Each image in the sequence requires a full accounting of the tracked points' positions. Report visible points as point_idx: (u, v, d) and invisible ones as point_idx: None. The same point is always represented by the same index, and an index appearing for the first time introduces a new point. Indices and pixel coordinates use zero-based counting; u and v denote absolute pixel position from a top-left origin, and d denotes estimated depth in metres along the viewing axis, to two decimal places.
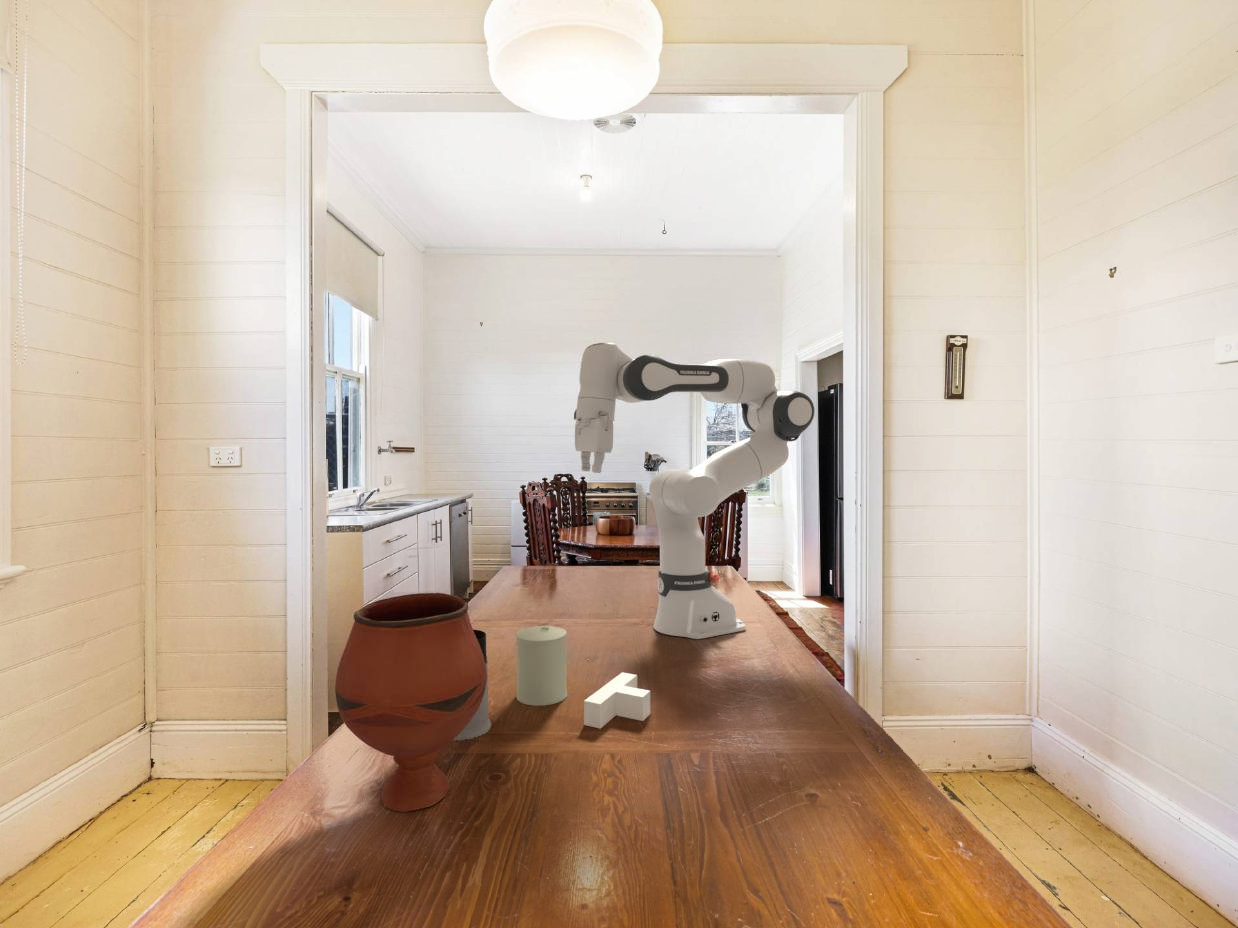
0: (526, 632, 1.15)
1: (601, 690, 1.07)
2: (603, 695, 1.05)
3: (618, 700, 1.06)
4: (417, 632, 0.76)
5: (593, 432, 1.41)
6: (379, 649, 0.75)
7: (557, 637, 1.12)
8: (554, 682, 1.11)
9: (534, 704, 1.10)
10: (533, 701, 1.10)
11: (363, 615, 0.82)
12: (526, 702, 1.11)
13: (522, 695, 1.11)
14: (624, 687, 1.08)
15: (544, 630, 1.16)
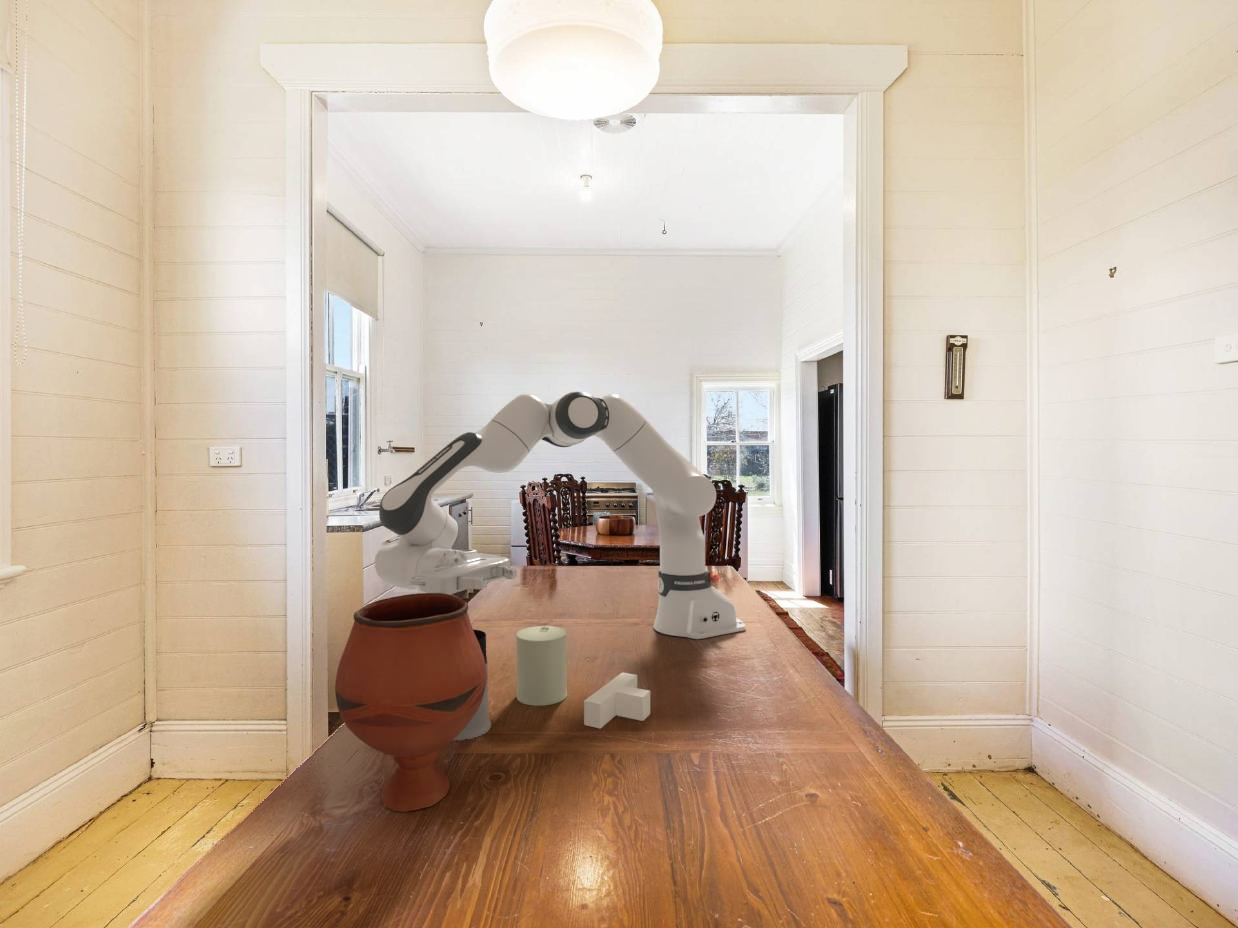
0: (526, 632, 1.15)
1: (601, 690, 1.07)
2: (603, 695, 1.05)
3: (618, 700, 1.06)
4: (417, 632, 0.76)
5: None
6: (379, 649, 0.75)
7: (557, 637, 1.12)
8: (554, 682, 1.11)
9: (534, 704, 1.10)
10: (533, 701, 1.10)
11: (363, 615, 0.82)
12: (526, 702, 1.11)
13: (522, 695, 1.11)
14: (624, 687, 1.08)
15: (544, 630, 1.16)
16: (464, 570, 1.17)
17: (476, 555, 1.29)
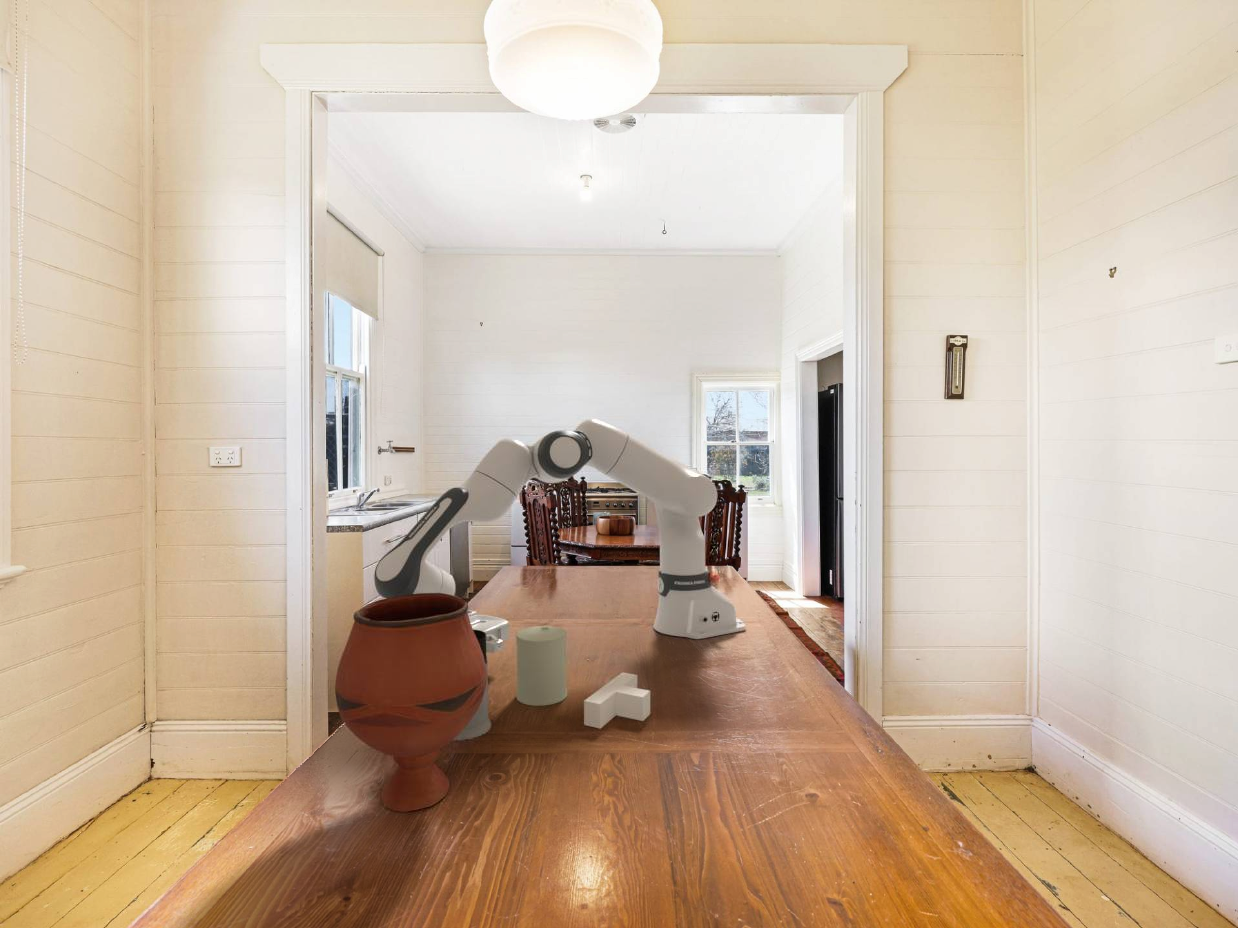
0: (526, 632, 1.15)
1: (601, 690, 1.07)
2: (603, 695, 1.05)
3: (618, 700, 1.06)
4: (417, 632, 0.76)
5: None
6: (379, 649, 0.75)
7: (557, 637, 1.12)
8: (554, 682, 1.11)
9: (534, 704, 1.10)
10: (533, 701, 1.10)
11: (363, 615, 0.82)
12: (526, 702, 1.11)
13: (522, 695, 1.11)
14: (624, 687, 1.08)
15: (544, 630, 1.16)
16: None
17: (475, 617, 1.29)
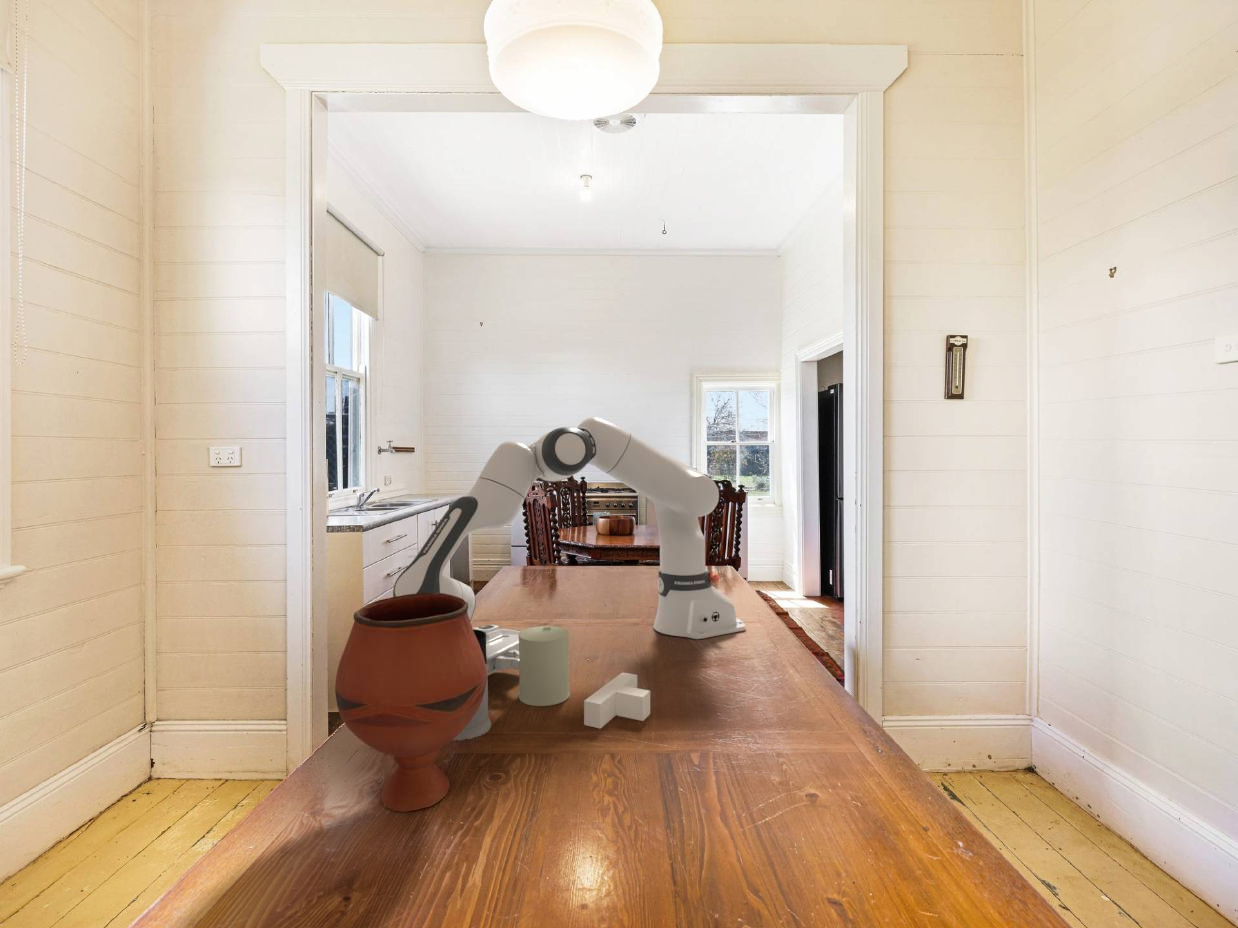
0: (528, 632, 1.15)
1: (601, 690, 1.07)
2: (603, 695, 1.05)
3: (618, 700, 1.06)
4: (417, 632, 0.76)
5: None
6: (379, 649, 0.75)
7: (560, 637, 1.12)
8: (557, 682, 1.11)
9: (537, 704, 1.10)
10: (536, 701, 1.10)
11: (363, 615, 0.82)
12: (528, 702, 1.11)
13: (525, 695, 1.11)
14: (624, 687, 1.08)
15: (546, 630, 1.16)
16: (488, 655, 1.15)
17: (498, 632, 1.27)
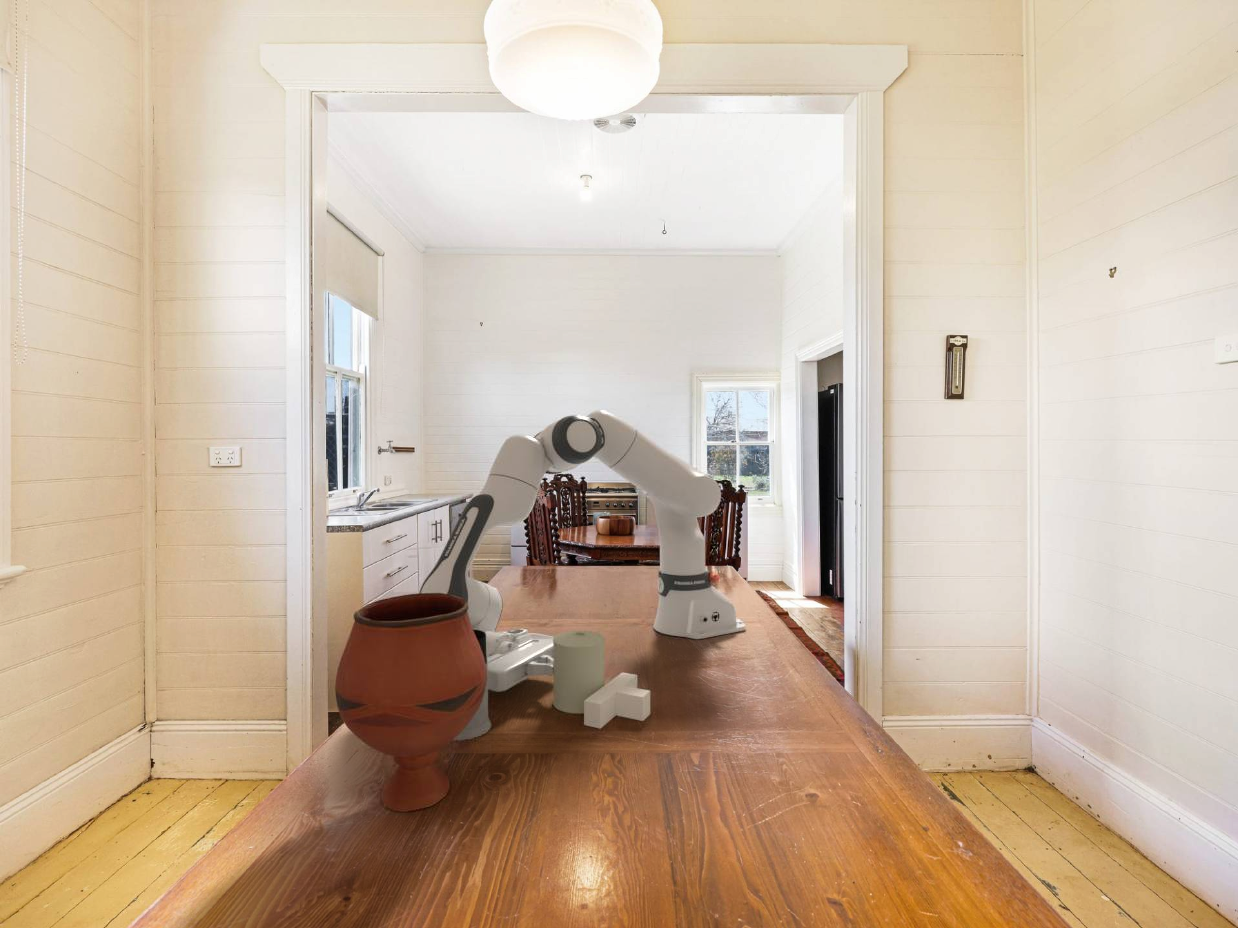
0: (562, 638, 1.11)
1: (601, 690, 1.07)
2: (603, 695, 1.05)
3: (618, 700, 1.06)
4: (417, 632, 0.76)
5: None
6: (379, 649, 0.75)
7: (597, 642, 1.09)
8: (595, 688, 1.08)
9: (576, 712, 1.07)
10: (574, 709, 1.07)
11: (363, 615, 0.82)
12: (567, 710, 1.07)
13: (563, 703, 1.08)
14: (624, 687, 1.08)
15: (580, 635, 1.13)
16: (520, 660, 1.12)
17: (527, 636, 1.24)
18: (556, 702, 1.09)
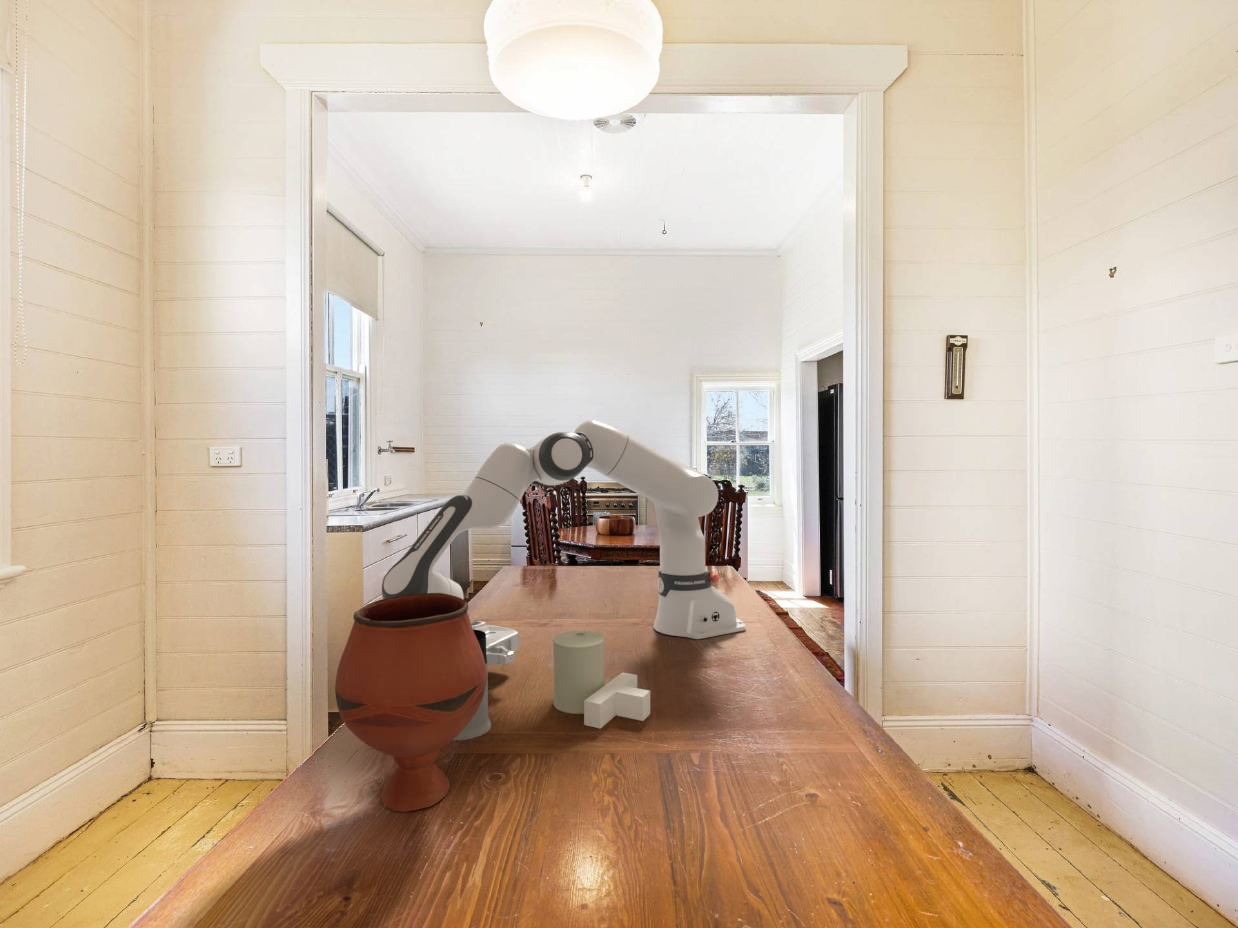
0: (562, 638, 1.11)
1: (601, 690, 1.07)
2: (603, 695, 1.05)
3: (618, 700, 1.06)
4: (417, 632, 0.76)
5: None
6: (379, 649, 0.75)
7: (597, 642, 1.09)
8: (596, 688, 1.08)
9: (576, 712, 1.07)
10: (575, 709, 1.07)
11: (363, 615, 0.82)
12: (567, 710, 1.07)
13: (563, 703, 1.08)
14: (624, 687, 1.08)
15: (580, 635, 1.13)
16: None
17: (485, 628, 1.28)
18: (556, 702, 1.09)
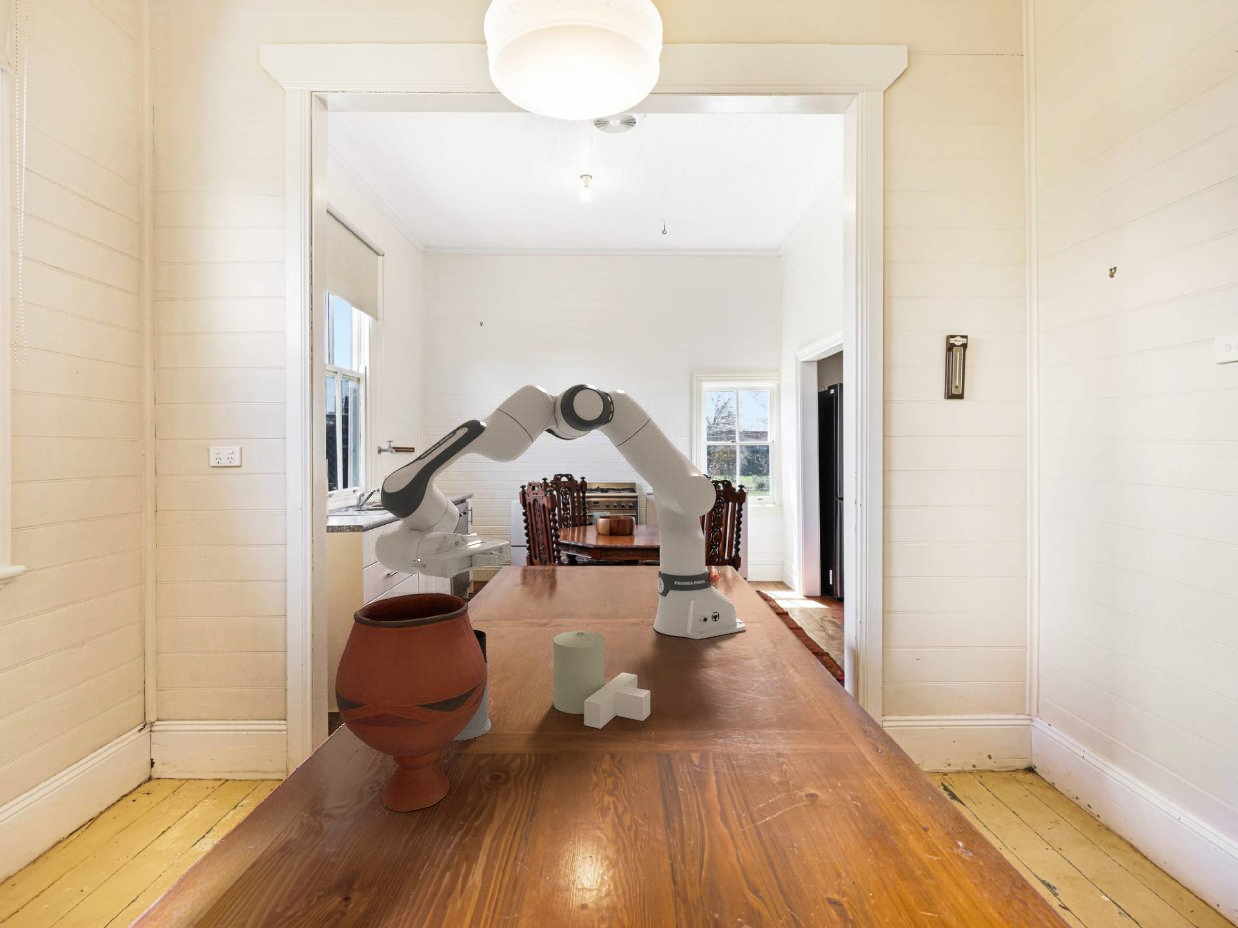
0: (562, 638, 1.11)
1: (601, 690, 1.07)
2: (603, 695, 1.05)
3: (618, 700, 1.06)
4: (417, 632, 0.76)
5: None
6: (379, 649, 0.75)
7: (597, 642, 1.09)
8: (596, 688, 1.08)
9: (576, 712, 1.07)
10: (575, 709, 1.07)
11: (363, 615, 0.82)
12: (567, 710, 1.07)
13: (563, 703, 1.08)
14: (624, 687, 1.08)
15: (580, 635, 1.13)
16: (465, 552, 1.17)
17: (476, 538, 1.29)
18: (556, 702, 1.09)
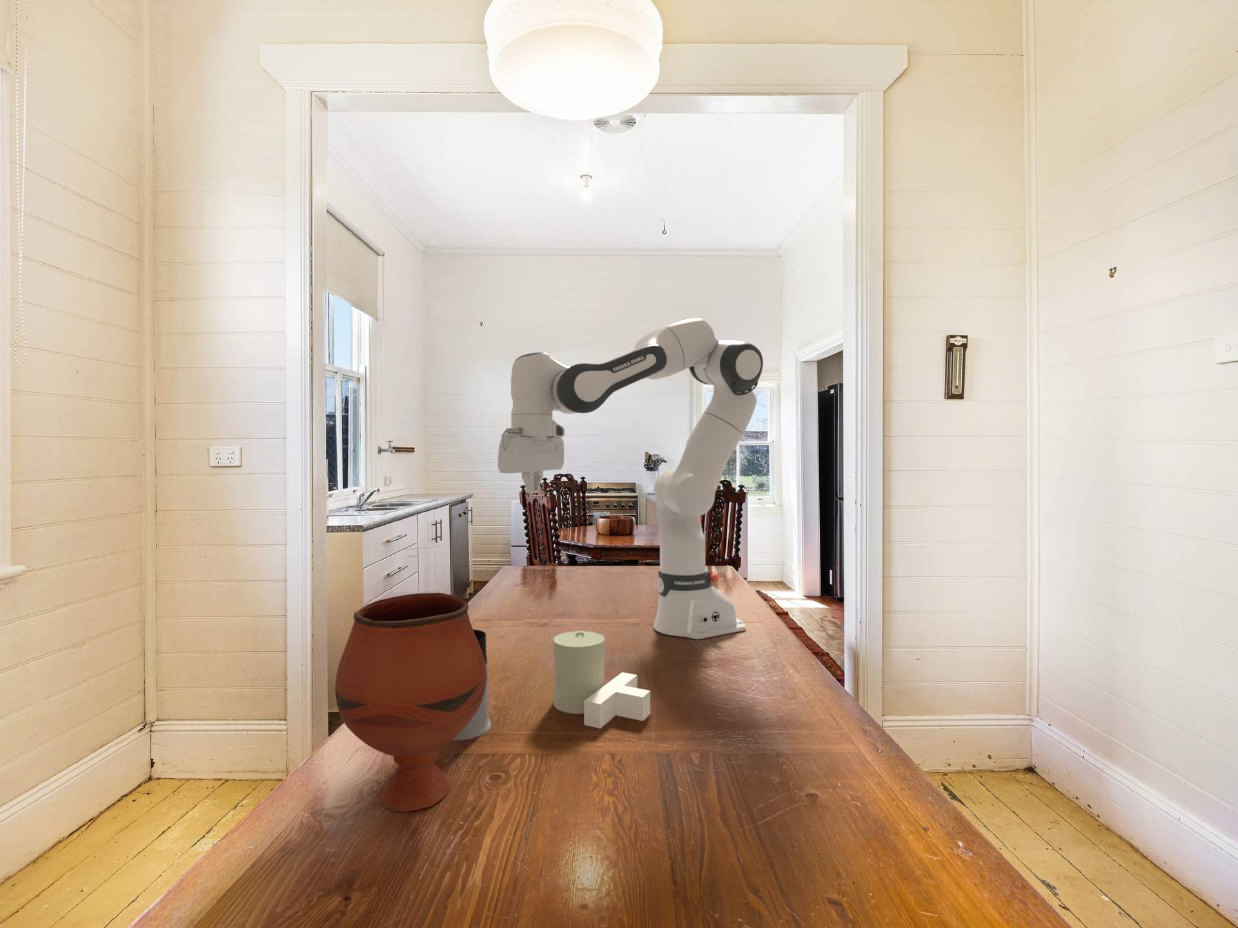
0: (562, 638, 1.11)
1: (601, 690, 1.07)
2: (603, 695, 1.05)
3: (618, 700, 1.06)
4: (417, 632, 0.76)
5: None
6: (379, 649, 0.75)
7: (597, 642, 1.09)
8: (596, 688, 1.08)
9: (576, 712, 1.07)
10: (575, 709, 1.07)
11: (363, 615, 0.82)
12: (567, 710, 1.07)
13: (563, 703, 1.08)
14: (624, 687, 1.08)
15: (580, 635, 1.13)
16: (529, 469, 1.32)
17: (557, 442, 1.41)
18: (556, 702, 1.09)
